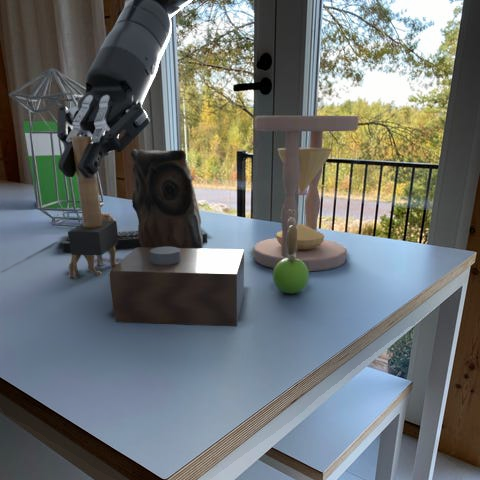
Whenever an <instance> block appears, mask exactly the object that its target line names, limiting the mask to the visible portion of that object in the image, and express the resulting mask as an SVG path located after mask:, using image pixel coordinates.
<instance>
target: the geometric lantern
mask: <svg viewBox="0 0 480 480" xmlns="http://www.w3.org/2000/svg"><path fill="white" fill-rule="evenodd" d="M52 78H54V80H55V82H56V84H57V85H58V88H59V89H60V91H61V92H57V93H52V94H50V92H51V86H52V85H51V84H52ZM39 79H40V80H39ZM38 80H39V81H38ZM37 81H38V82H37ZM35 82H37V84H36V85H35V86H34V87H33V88H32V90H30V92H29V93H28V94H23V93H19V92H20V91H22V90H23V89H25V88H27V87H28V86H30V85H31V84H33V83H35ZM63 84H64V85H65V86H66V88H67V89H68V90H69V92H67V91H66V89H65V87H64V85H63ZM76 86H77V87H78V88H80V89H81V90H83V91H85V92H86V86H83V85H81V84H80V83H79V82H77V81H75V80H74V79H72V78H71V77H69V76H67V75H66V74H65V73H63V72H61V71H59V70H58V69H57V68H47V69H46V70H45V71H43V72H42V73H40V74H39V75H37V76H35V77H34V78H32V79H30V80H29V81H28V82H26V83H24V84H23V85H21V86H19V87H17V88H16V89H15V90H13V91H12V92H11V91H10V93H9V94H8V96H9V97H10V98H11V99H13V101H15V102H16V103H17V104H18V105H20V106H21V107H22V108H23V109H25V110H26V111H27V116H28V121H29V126H30V140H31V151H32V162H33V173H34V184H35V192H34V196H35V195H36V198H35V204H36V210H38V211H40V212H41V213H43V214H45V215H46V216H48V217H49V218H50V219H51V223H52V226H53V227H54V226H55V227H68V228H69V227H70V228H71V227H72V228H76V227H78V226H79V225H81V224H82V222H81V221H83V218H82V216H81V217H80V214H82V211H81V207H79V208H77V207H76V206H75V202H80V200H74V193H73V186H72V180H71V177H69V183H70V189H71V196H72V200H69V196H68V188H67V181H66V176H65V175H64V174H63V175H64V182H65V189H66V196H67V200H59V197H58V186H57V176H56V166H55V156H54V146H53V136H52V133H54V134H57V131H52V130H51V128H50V127H49V126H48V124H47V123H46V122H45V121H46V120H45V119H44V118H43V116H42V115H41V112H47V114H48V115H49V116H50V117H51V119H52V121H55V123H56V124H57V121H58V119H56V118H55V117H54V115H53V114H52V112H51V111H50V110H49V109H50V108H51V107H53V105H56V106H58V107H60V106H61V105H62V104H61V103H59V102H58V101H61V102H62V101H63V102H68V109H70V108H72V105H71V104H72V102H73V104H74V107H75V106H77V104H78V101H79V100H80V99H81V98H82V97H83V96H84V95H85V94H84V93H82V92H81V91H80V90H79V89H78V88H76ZM68 95H69V96H68ZM64 96H65V98H64ZM70 97H71V98H70ZM45 99H46V100H49V101H51V102H50V103H49V104H48V105H47V106H46V104H45V101H44V100H45ZM24 101H25V102H24ZM29 103H30V104H31V106H30V105H29ZM40 104H42V107H43V108H40ZM39 108H40V109H39ZM31 113H32V114H33V116H32V114H31ZM36 114H38V116H39V117H40V119H41V120H42V121H44V122H45V124H46V125H47V126H48V128H49V129H50V131H39V132H32V128H33V123H34V121H35V117H36ZM31 121H32V124H31ZM32 133H50V139H51V148H52V158H53V168H54V178H55V188H56V199H57V201H55V202H52V203H49V204H46V205H42V202H41V195H40V188H39V180H38V173H37V166H36V159H35V151H34V144H33V135H32ZM58 140H59V147H60V154H61V156H62V154H63V153H62V146H61V140H60V139H59V138H58ZM65 148H66V146H65V145H64V150H65ZM96 175H97V183H98V192H99V196H100V197H99V200H100V208H102V207H103V206H104V205H105V199H104V194H103V189H102V184H101V179H100V173H99V170H98V171H97V172H96ZM37 190H38V191H37ZM38 198H39V202H38ZM62 202H67V208H62V206H61V205H60V203H62ZM69 202H73V207H72V208H69ZM56 203H58V204H59V206H60V207H61V208H44V207H47V206H50V205H53V204H56ZM39 205H40V206H39ZM48 211H51V212H53V211H54V212H60V213H58V214H56V215H52V214H51V213H49V212H48ZM70 214H76V216H77V217H71V216H70ZM61 215H62V216H61ZM66 215H67V217H66ZM56 219H61V220H58V221H56ZM65 221H78V224H79V225H75V224H60V223H63V222H65Z"/></svg>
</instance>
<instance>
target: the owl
mask: <svg viewBox="0 0 480 480" xmlns="http://www.w3.org/2000/svg"><path fill="white" fill-rule="evenodd" d="M130 156H131V157H132V161H133V167H132V172H133V178H134V191H133V193H132V200H131V203H132V205H131V207H132V208H133V210H134V211H135V213H136V216H137V220H138V226H137V231H138V235H139V240H140V245H141V246H142V247H148V248H157V247H176V248H196V249H204V243H203V240H202V238H203V236H202V231H203V230H202V219H201V213H200V210H199V205H198V201H197V197H196V191H195V186H194V184H193V181H194V180H193V176H192V172H191V169H190V166H189V164H188V161H187V153H186V152H185V150H183V149H173V150H158V149H151V150H146V149H138V150H137V149H136V148H133V149H132V150H131V153H130ZM201 230H202V231H201Z"/></svg>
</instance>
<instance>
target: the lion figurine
mask: <svg viewBox="0 0 480 480" xmlns="http://www.w3.org/2000/svg"><path fill="white" fill-rule="evenodd" d="M101 217H102V221H116V222H117V220H116V219H115V218H114V216H113V215H111V214H110V213H106V212H101ZM117 232H119V230H118V229H117ZM115 246H116V244H115V245H114V246H113V247H111V248H110V249H109V250H107V252H108V253H109V264H110V265H111V266H112V267H115V266H116V265H117V264H118V263H119V262H117V261H116V252H117V251H116V250H117V249H115ZM81 257H82V255H71V261H70V263H69V265H68V271H69V272H68V273H69V278H70V279H75V281H77V280H80V273H79V270H78V262H79V260H80V259H81ZM83 257H84V258H85V260H86V261H87V270H89V271H90V272H91V274H92V275H94V276H101V274H102V272H101V271H100V270H96V269H95V258H96V266H98V267H102V266H104V264H105V263H104V260H103V254H102V255H83Z"/></svg>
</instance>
